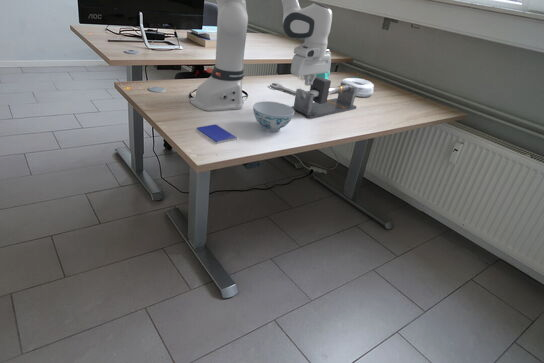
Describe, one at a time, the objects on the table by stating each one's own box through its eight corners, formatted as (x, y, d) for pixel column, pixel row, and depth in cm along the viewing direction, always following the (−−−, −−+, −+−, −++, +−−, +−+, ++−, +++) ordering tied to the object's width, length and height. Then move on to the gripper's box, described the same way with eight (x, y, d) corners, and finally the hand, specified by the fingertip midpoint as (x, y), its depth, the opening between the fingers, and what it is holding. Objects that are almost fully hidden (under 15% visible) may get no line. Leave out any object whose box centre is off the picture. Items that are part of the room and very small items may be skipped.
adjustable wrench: (313, 101, 178) (314, 97, 177) (305, 103, 174) (306, 99, 173) (275, 85, 192) (276, 82, 191) (266, 87, 187) (267, 83, 187)
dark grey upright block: (320, 104, 159) (324, 81, 154) (308, 98, 163) (312, 76, 158) (326, 103, 161) (331, 80, 156) (314, 97, 165) (318, 76, 161)
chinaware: (243, 122, 141) (245, 103, 137) (275, 118, 149) (278, 100, 145) (265, 138, 131) (268, 117, 127) (299, 133, 139) (302, 113, 135)
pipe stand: (310, 119, 154) (314, 96, 149) (289, 109, 161) (293, 87, 156) (355, 108, 175) (361, 88, 170) (335, 100, 182) (340, 80, 177)
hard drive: (237, 136, 127) (216, 123, 134) (216, 141, 122) (196, 127, 129) (236, 141, 127) (216, 128, 135) (216, 145, 122) (196, 131, 130)
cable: (371, 91, 206) (374, 80, 203) (372, 100, 191) (376, 89, 188) (339, 85, 208) (342, 74, 205) (338, 94, 193) (341, 82, 190)
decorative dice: (328, 81, 212) (330, 67, 208) (323, 84, 205) (326, 69, 201) (314, 78, 214) (317, 64, 210) (310, 81, 208) (312, 66, 204)
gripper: (325, 47, 155) (319, 80, 162) (290, 48, 142) (285, 85, 148) (337, 50, 151) (330, 84, 158) (303, 52, 138) (297, 89, 145)
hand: (308, 85), depth 153 cm, fingers closed
